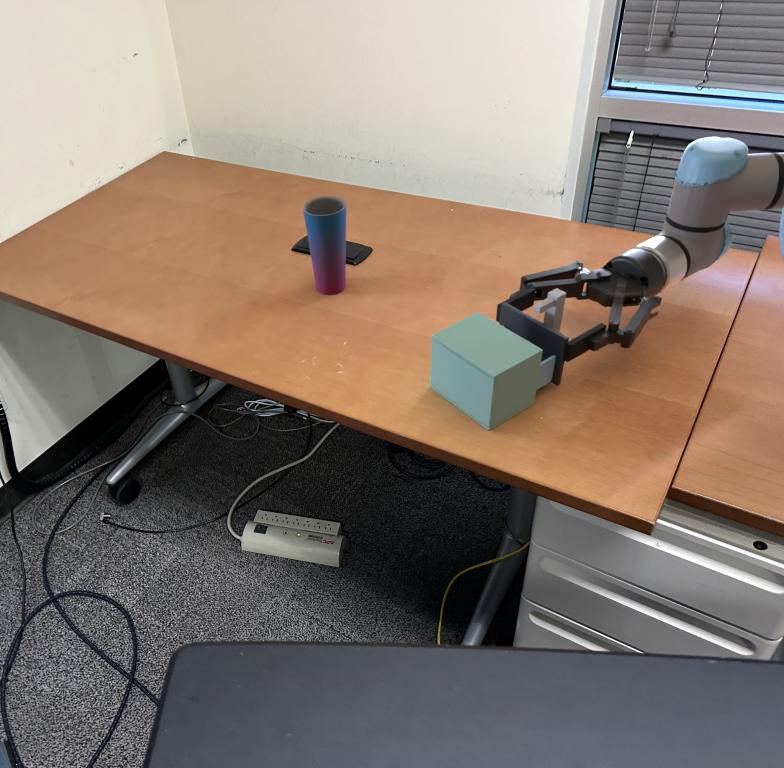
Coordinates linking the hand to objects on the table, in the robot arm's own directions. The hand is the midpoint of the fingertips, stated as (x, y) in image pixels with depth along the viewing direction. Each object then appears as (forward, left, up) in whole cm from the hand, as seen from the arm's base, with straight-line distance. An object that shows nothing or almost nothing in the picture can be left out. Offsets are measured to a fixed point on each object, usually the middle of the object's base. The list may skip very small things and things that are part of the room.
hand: (531, 332), depth 90 cm
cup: (+28, +24, -7) cm, 37 cm away
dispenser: (-4, +7, -6) cm, 11 cm away
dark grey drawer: (-1, +1, -6) cm, 6 cm away
